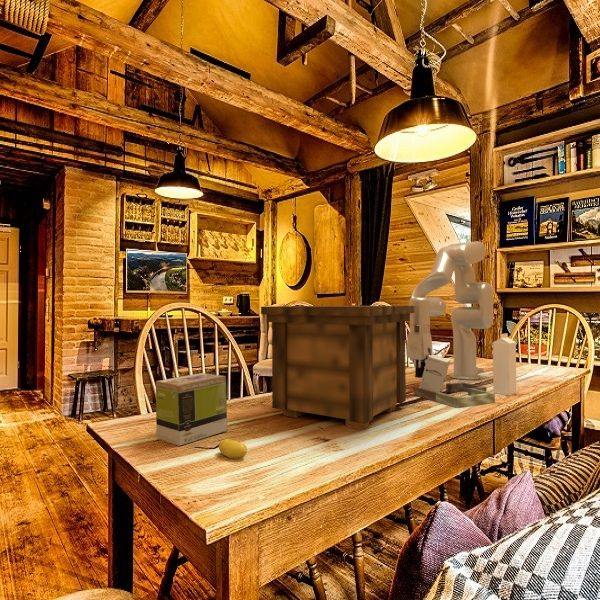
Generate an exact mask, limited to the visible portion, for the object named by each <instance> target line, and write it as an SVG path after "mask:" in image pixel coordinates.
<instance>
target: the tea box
mask: <svg viewBox="0 0 600 600" xmlns="http://www.w3.org/2000/svg"><path fill="white" fill-rule="evenodd" d="M155 405H156V406H155V411H156V412H155V413H156V414H155V416H156V417H155V418H156V419H155V420H156V424H155V425H156V438H157V439H159V440H161V441H163V442H166V443H169V444H172V445H175V446H179V447H180V446H183V445H186V444H190V443H193V442H195V441H200V440H202V439H205V438H209V437H212V436H215V435H217V434H220V433H224V432H227V431H228V411H227V410H228V408H227V406H228V402H227V379H226V375H220V374H211V373H205V372H200V373H194V374H188V375H183V376H182V375H181V376H176V377H172V378H166V379H162V380H160V379H159V380H156V381H155Z"/></svg>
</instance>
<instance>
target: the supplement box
mask: <svg viewBox="0 0 600 600" xmlns="http://www.w3.org/2000/svg"><path fill="white" fill-rule="evenodd" d="M450 364H451V359H448V358H445V357H442V356H439V355H436V354H432V355H429V356H428V359H427V362H426V365H425V369H424V372H423V376H422V378H420V379H421V380H420V383H419V386H418V387H420V388H424V389H428V390H432V391H436V392H439V393H441V392H442V389H443V386H444V383H445V381H446V380H445V379H446V377H447V373H448V369H449V367H450ZM440 391H441V392H440Z"/></svg>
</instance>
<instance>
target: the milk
mask: <svg viewBox="0 0 600 600" xmlns="http://www.w3.org/2000/svg"><path fill="white" fill-rule="evenodd" d="M508 335H509V334H508V333H507V332H506V333H501V334H500V338H499V339H497V340H495V341H493V342H492V373H493V377H492V379H493V380H492V382H493V383H492V387H493V388H492V391H493V392H492V393H495V395H503V396H512V395H515V394H517V343H516V341H515V340H513V339H511V338H510V337H509V336H508Z"/></svg>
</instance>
